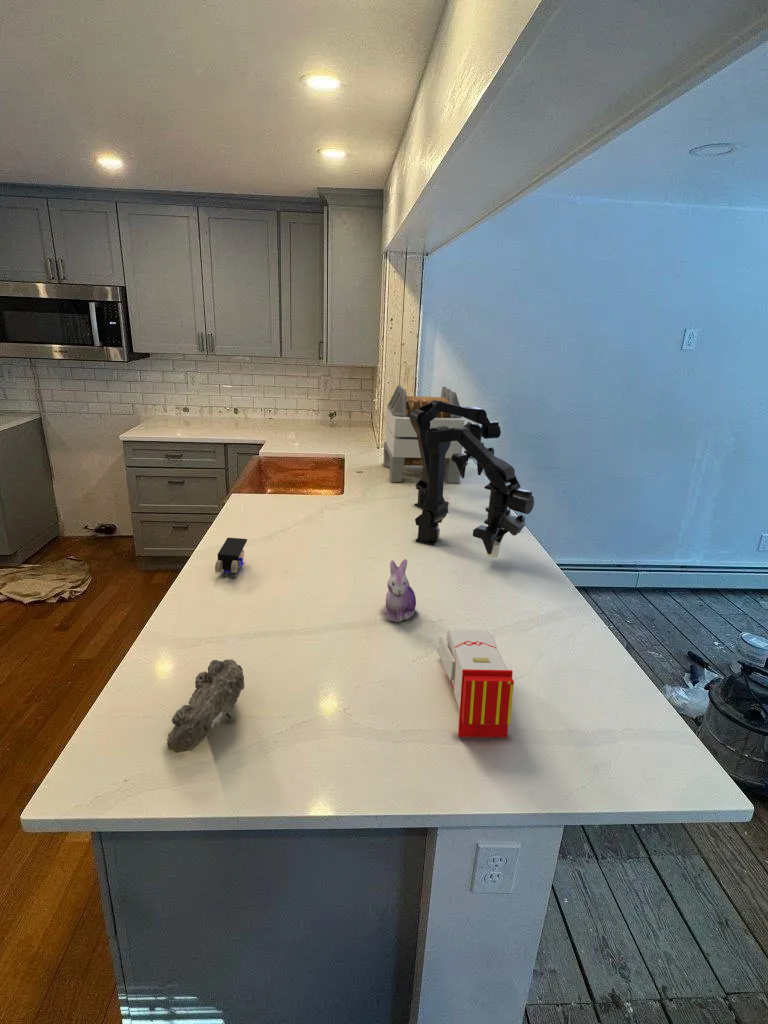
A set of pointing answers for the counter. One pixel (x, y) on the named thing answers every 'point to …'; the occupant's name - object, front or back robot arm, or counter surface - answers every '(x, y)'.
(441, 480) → the front robot arm
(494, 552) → the can
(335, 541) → the counter surface
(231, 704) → the fossil
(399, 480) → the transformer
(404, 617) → the figurine
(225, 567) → the black toy vehicle
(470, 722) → the toy
